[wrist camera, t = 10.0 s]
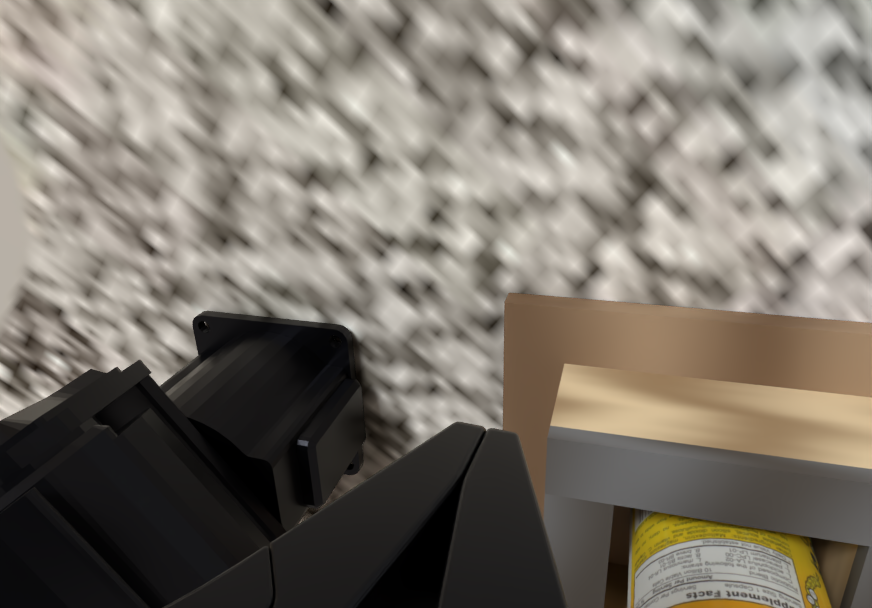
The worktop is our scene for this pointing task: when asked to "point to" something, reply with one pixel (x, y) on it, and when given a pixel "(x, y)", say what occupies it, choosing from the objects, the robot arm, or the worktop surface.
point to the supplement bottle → (719, 565)
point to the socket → (690, 431)
